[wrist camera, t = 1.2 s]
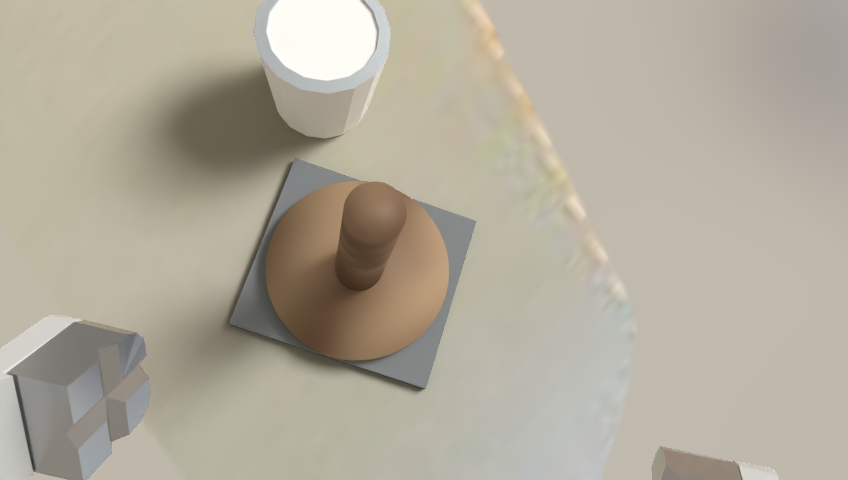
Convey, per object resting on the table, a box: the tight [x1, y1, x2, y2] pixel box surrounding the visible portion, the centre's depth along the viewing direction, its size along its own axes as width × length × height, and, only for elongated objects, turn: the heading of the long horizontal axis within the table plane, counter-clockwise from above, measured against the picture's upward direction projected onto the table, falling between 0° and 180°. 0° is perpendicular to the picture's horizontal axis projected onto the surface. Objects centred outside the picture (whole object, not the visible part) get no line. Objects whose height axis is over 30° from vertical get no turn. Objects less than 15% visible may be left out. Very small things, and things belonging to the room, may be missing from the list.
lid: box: [265, 181, 449, 361], centre depth 33 cm, size 10×10×11 cm
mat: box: [229, 158, 476, 389], centre depth 39 cm, size 11×10×1 cm
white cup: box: [253, 0, 391, 139], centre depth 38 cm, size 7×7×7 cm
